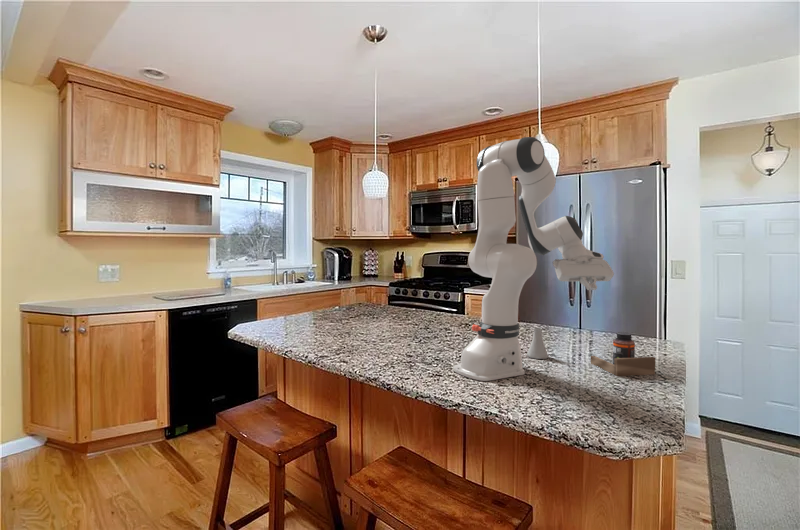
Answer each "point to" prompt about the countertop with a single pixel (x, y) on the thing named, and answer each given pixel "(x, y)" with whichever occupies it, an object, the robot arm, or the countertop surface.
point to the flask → (537, 345)
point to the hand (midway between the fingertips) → (592, 289)
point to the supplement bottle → (623, 346)
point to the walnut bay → (627, 365)
